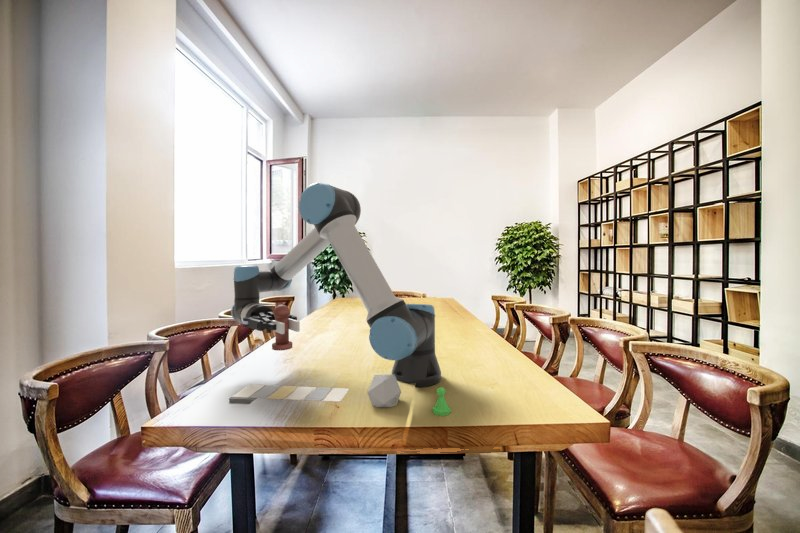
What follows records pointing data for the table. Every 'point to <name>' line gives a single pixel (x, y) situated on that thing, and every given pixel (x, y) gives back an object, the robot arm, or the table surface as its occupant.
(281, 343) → the pawn
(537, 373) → the table surface
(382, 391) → the die
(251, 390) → the board
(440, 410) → the game piece
